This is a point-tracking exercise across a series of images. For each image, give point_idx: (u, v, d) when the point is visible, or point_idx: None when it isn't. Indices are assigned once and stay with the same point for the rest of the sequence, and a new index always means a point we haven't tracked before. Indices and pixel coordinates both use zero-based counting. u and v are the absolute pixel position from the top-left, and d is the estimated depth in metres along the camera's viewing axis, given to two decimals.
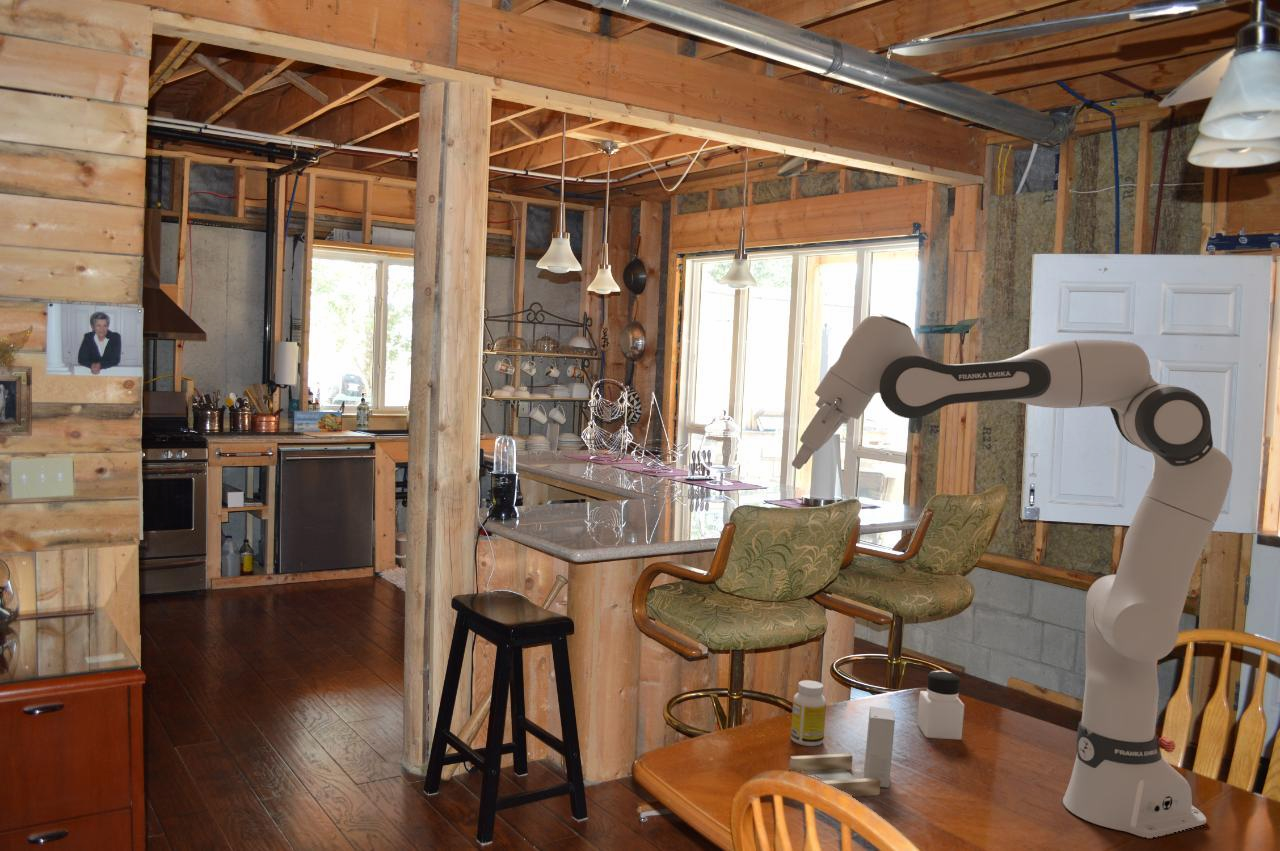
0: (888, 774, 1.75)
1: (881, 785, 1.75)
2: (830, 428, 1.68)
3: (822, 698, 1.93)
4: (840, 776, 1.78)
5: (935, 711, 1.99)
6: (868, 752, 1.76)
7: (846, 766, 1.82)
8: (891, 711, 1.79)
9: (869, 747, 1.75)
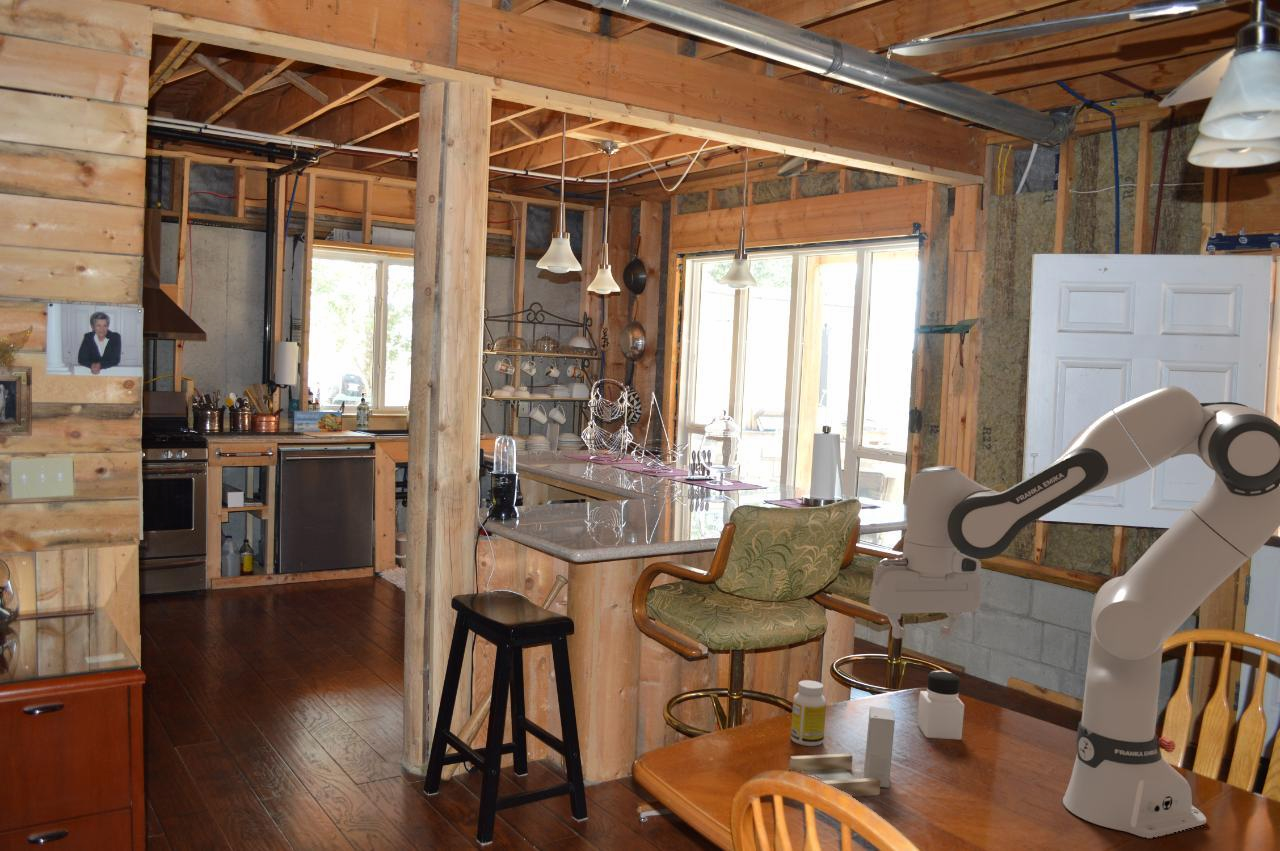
0: (888, 774, 1.75)
1: (881, 785, 1.75)
2: (881, 587, 1.73)
3: (822, 698, 1.93)
4: (840, 776, 1.78)
5: (935, 711, 1.99)
6: (868, 752, 1.76)
7: (846, 766, 1.82)
8: (891, 711, 1.79)
9: (869, 747, 1.75)
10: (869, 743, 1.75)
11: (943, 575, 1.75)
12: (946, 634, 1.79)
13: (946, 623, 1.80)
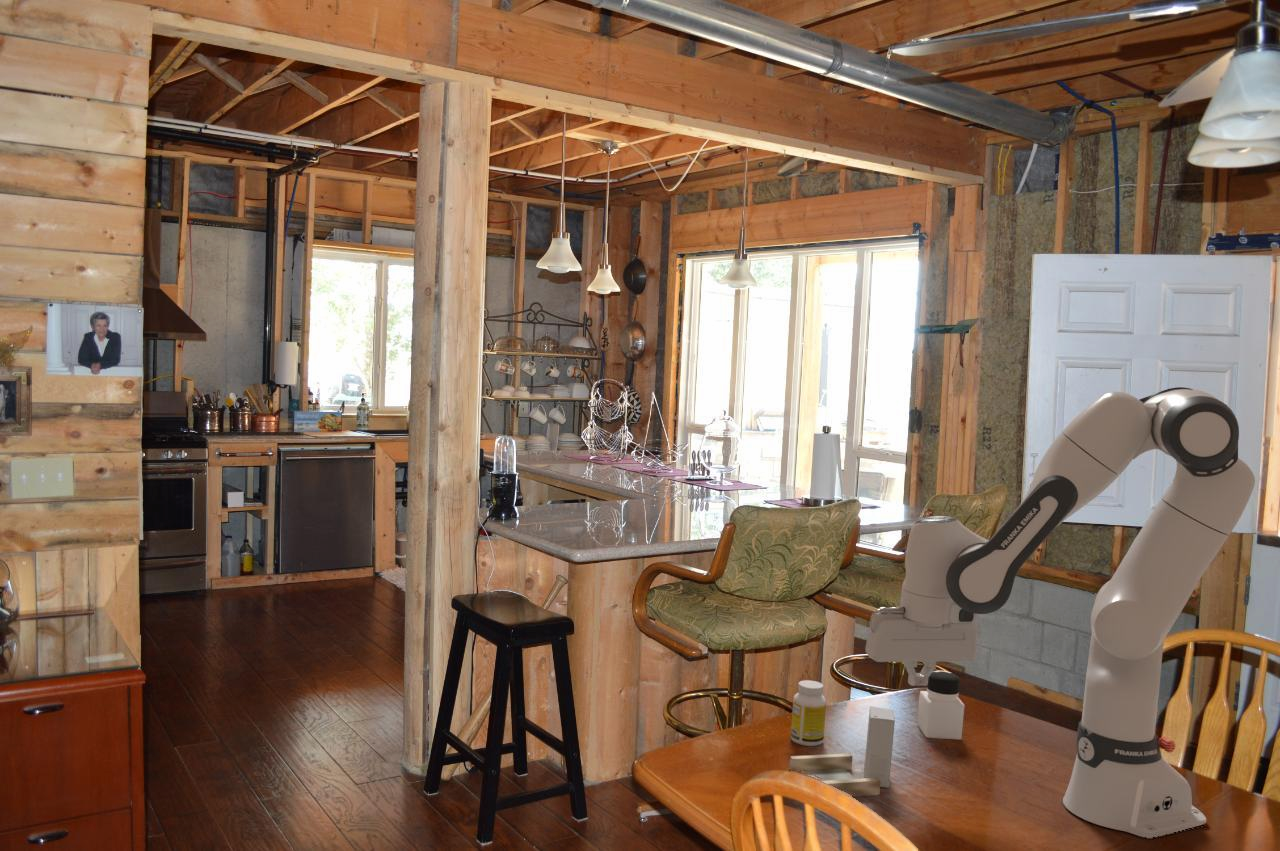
0: (888, 774, 1.75)
1: (881, 785, 1.75)
2: (877, 636, 1.74)
3: (822, 698, 1.93)
4: (840, 776, 1.78)
5: (935, 711, 1.99)
6: (868, 752, 1.76)
7: (846, 766, 1.82)
8: (891, 711, 1.79)
9: (869, 747, 1.75)
10: (869, 743, 1.75)
11: (940, 625, 1.76)
12: (922, 683, 1.78)
13: (922, 671, 1.80)
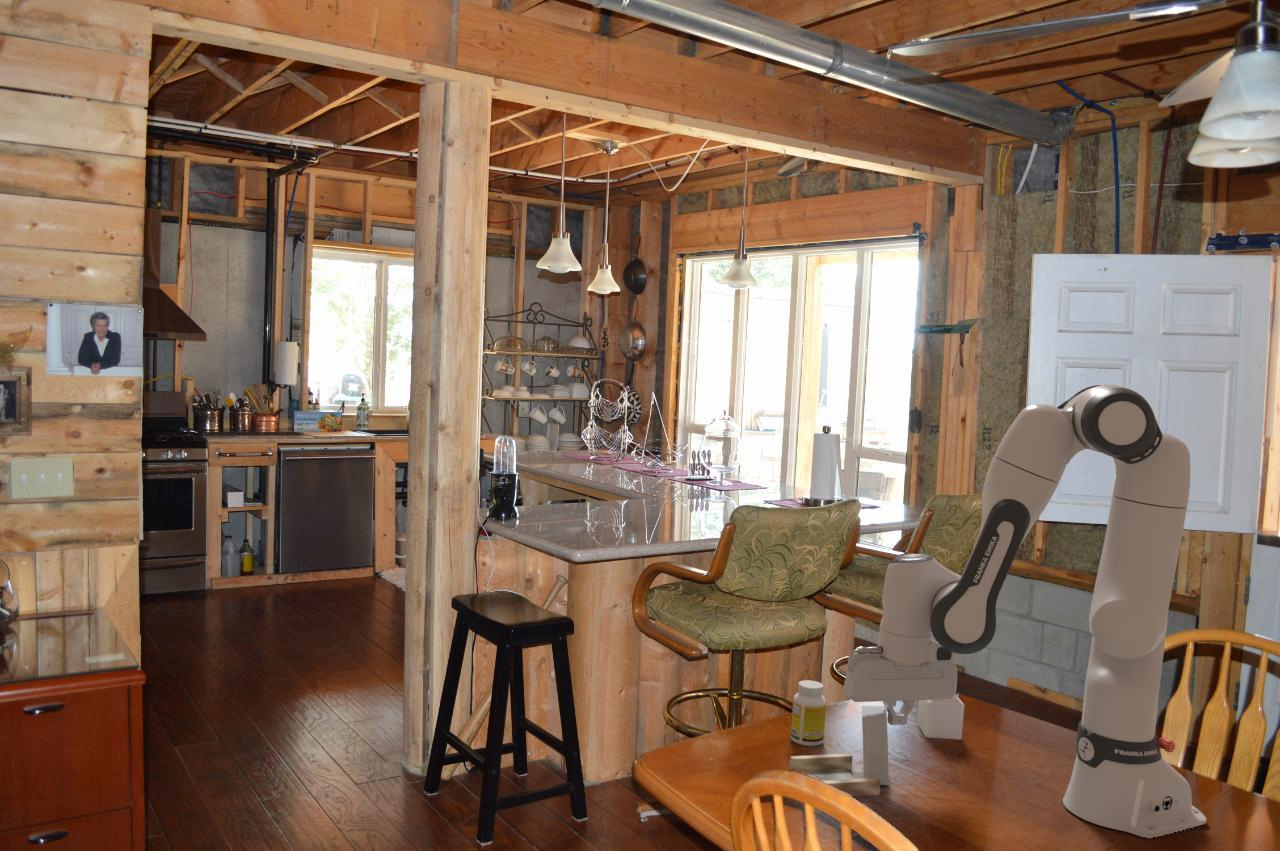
0: (886, 771, 1.75)
1: (881, 783, 1.75)
2: (855, 676, 1.74)
3: (822, 698, 1.93)
4: (840, 776, 1.78)
5: (935, 711, 1.99)
6: (864, 751, 1.76)
7: (846, 766, 1.82)
8: (883, 708, 1.79)
9: (864, 746, 1.76)
10: (864, 742, 1.76)
11: (918, 664, 1.75)
12: (901, 722, 1.78)
13: (901, 710, 1.79)
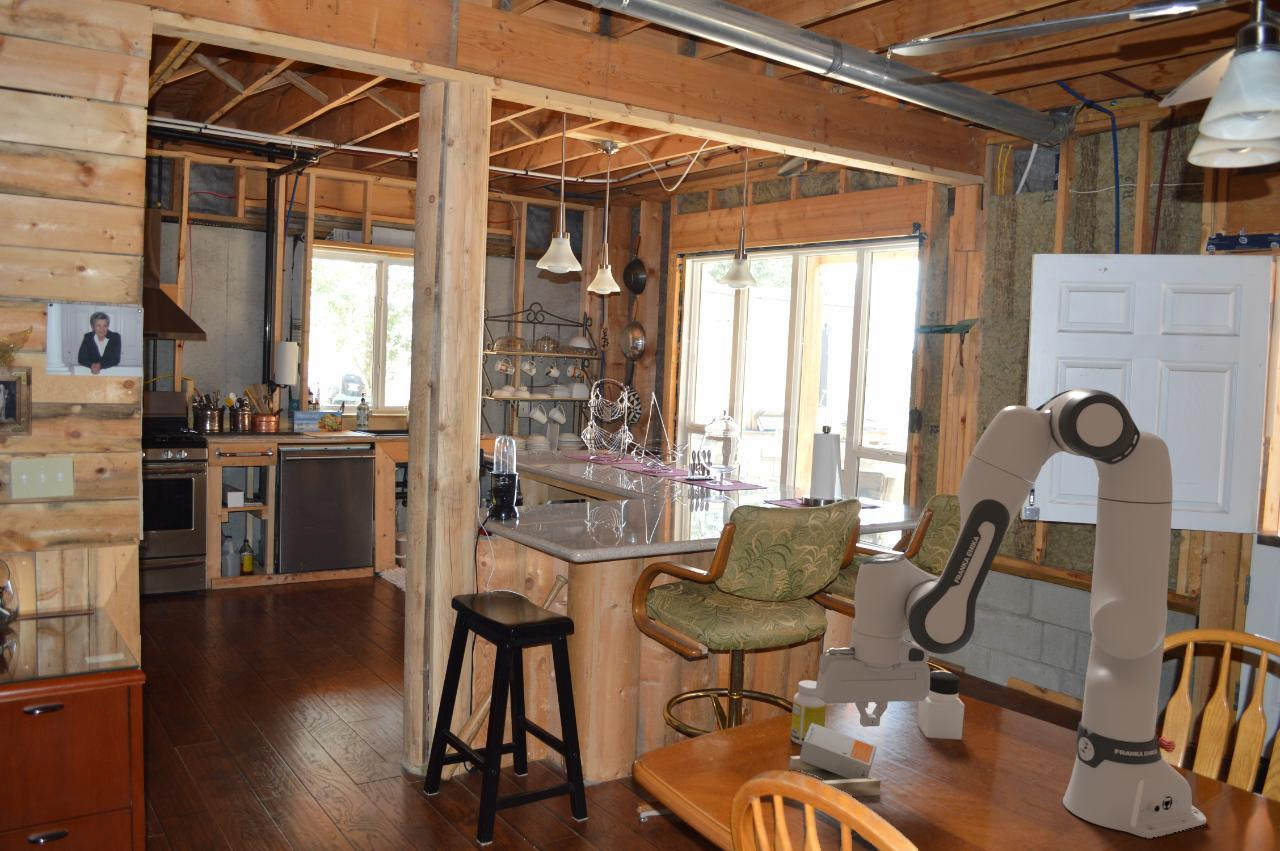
0: (856, 762, 1.75)
1: (867, 771, 1.74)
2: (826, 677, 1.73)
3: None
4: (840, 776, 1.78)
5: (935, 711, 1.99)
6: (833, 771, 1.77)
7: None
8: (809, 728, 1.81)
9: (828, 769, 1.77)
10: (824, 768, 1.77)
11: (890, 665, 1.74)
12: (873, 723, 1.76)
13: (874, 712, 1.78)
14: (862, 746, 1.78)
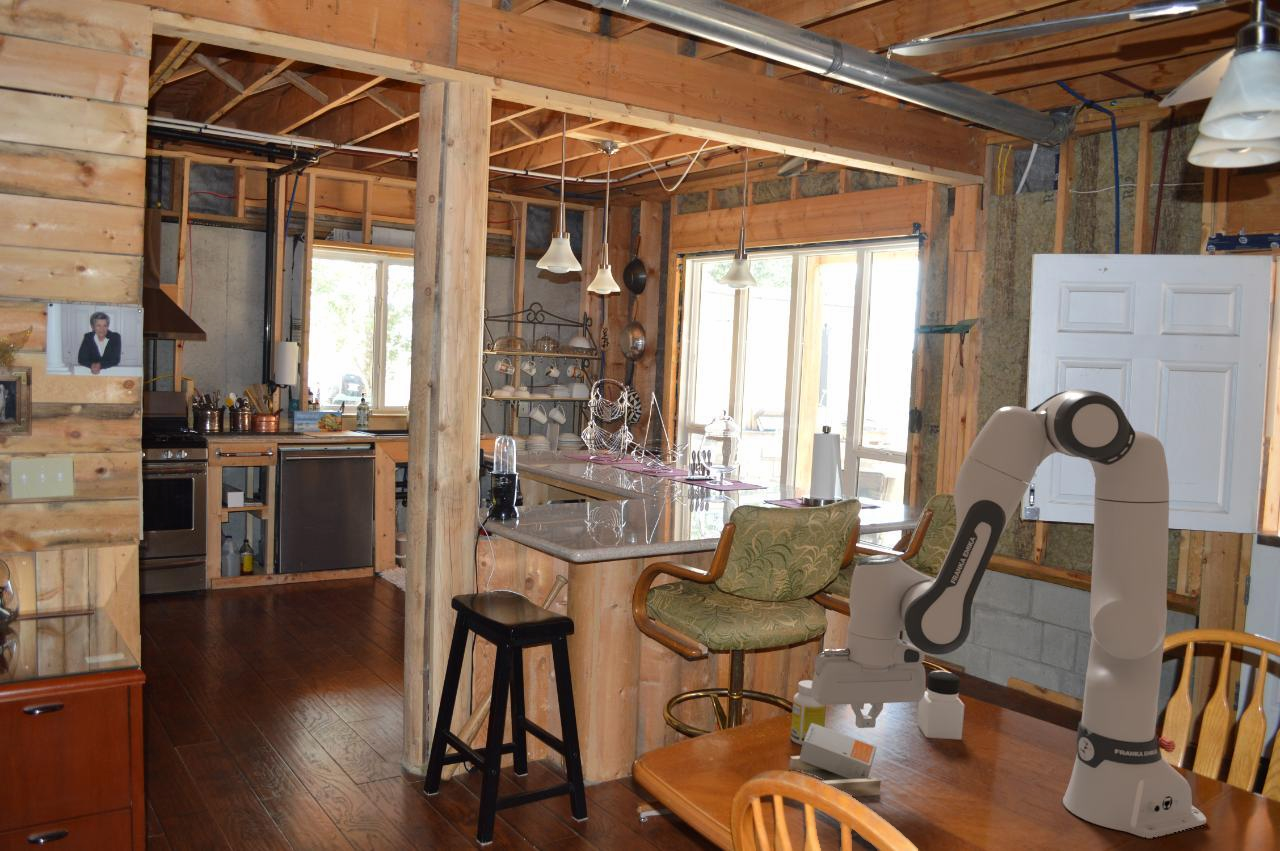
0: (856, 762, 1.75)
1: (867, 771, 1.74)
2: (821, 679, 1.72)
3: None
4: (840, 776, 1.78)
5: (935, 711, 1.99)
6: (833, 771, 1.77)
7: None
8: (809, 728, 1.81)
9: (828, 769, 1.77)
10: (824, 768, 1.77)
11: (885, 666, 1.74)
12: (869, 725, 1.76)
13: (870, 713, 1.77)
14: (862, 746, 1.78)
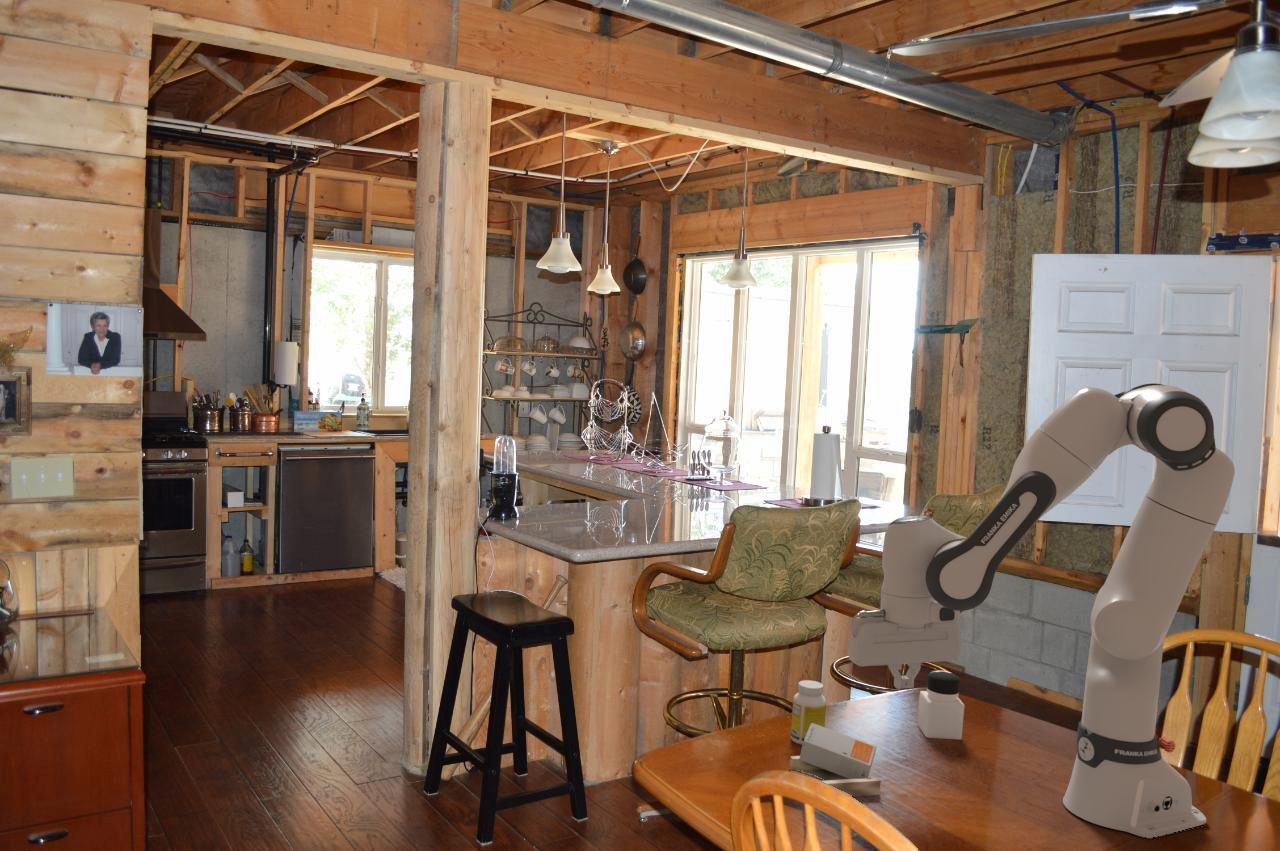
0: (856, 762, 1.75)
1: (867, 771, 1.74)
2: (859, 640, 1.73)
3: (822, 698, 1.93)
4: (840, 776, 1.78)
5: (935, 711, 1.99)
6: (833, 771, 1.77)
7: None
8: (809, 728, 1.81)
9: (828, 769, 1.77)
10: (824, 768, 1.77)
11: (921, 625, 1.75)
12: (907, 685, 1.77)
13: (907, 674, 1.78)
14: (862, 746, 1.78)
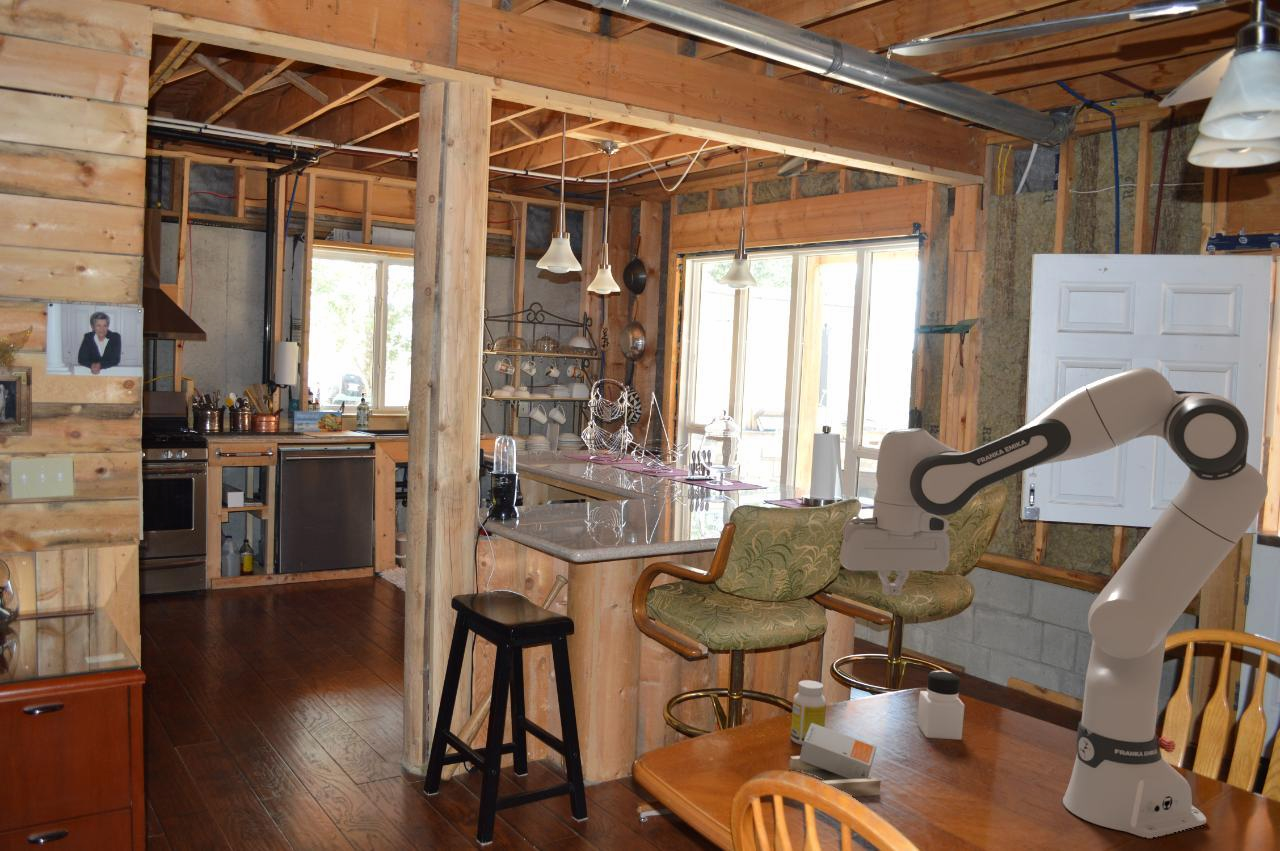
0: (856, 762, 1.75)
1: (867, 771, 1.74)
2: (850, 545, 1.79)
3: (822, 698, 1.93)
4: (840, 776, 1.78)
5: (935, 711, 1.99)
6: (833, 771, 1.77)
7: None
8: (809, 728, 1.81)
9: (828, 769, 1.77)
10: (824, 768, 1.77)
11: (911, 534, 1.80)
12: (895, 592, 1.83)
13: (896, 581, 1.84)
14: (862, 746, 1.78)
